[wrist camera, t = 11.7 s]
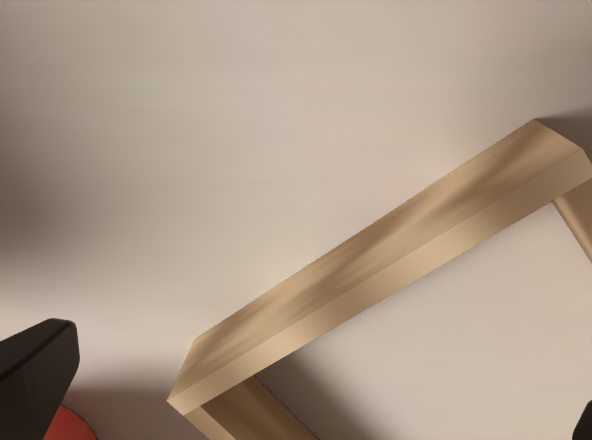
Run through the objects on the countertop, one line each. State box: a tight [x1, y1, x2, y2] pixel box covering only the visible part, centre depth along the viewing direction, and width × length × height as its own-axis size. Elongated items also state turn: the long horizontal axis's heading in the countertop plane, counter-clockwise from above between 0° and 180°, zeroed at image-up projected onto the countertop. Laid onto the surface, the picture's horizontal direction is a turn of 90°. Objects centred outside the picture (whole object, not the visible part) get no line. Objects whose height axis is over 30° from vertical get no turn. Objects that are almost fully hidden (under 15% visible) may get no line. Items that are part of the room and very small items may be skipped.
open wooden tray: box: [167, 119, 592, 440], centre depth 21 cm, size 18×18×4 cm
